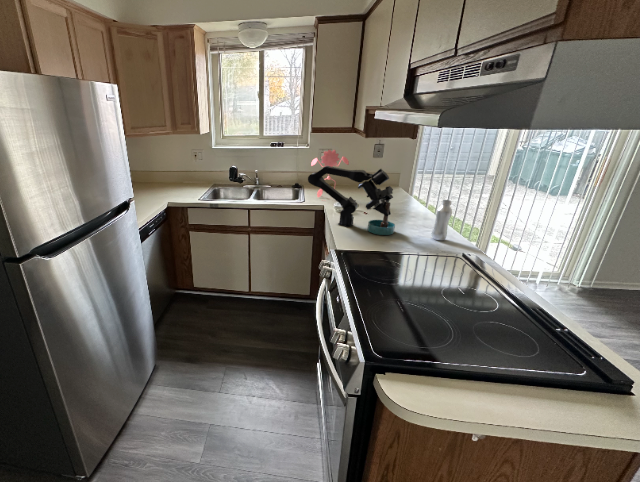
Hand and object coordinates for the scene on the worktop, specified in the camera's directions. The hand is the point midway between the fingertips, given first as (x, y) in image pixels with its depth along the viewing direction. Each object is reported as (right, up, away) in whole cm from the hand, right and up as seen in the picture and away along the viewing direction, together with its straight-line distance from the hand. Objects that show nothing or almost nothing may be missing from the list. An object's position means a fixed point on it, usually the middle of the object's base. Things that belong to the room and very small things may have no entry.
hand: (388, 215), depth 164 cm
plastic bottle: (+23, -13, -4) cm, 26 cm away
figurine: (-13, +16, +69) cm, 73 cm away
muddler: (-1, -7, +4) cm, 8 cm away
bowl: (-2, -8, +6) cm, 11 cm away
